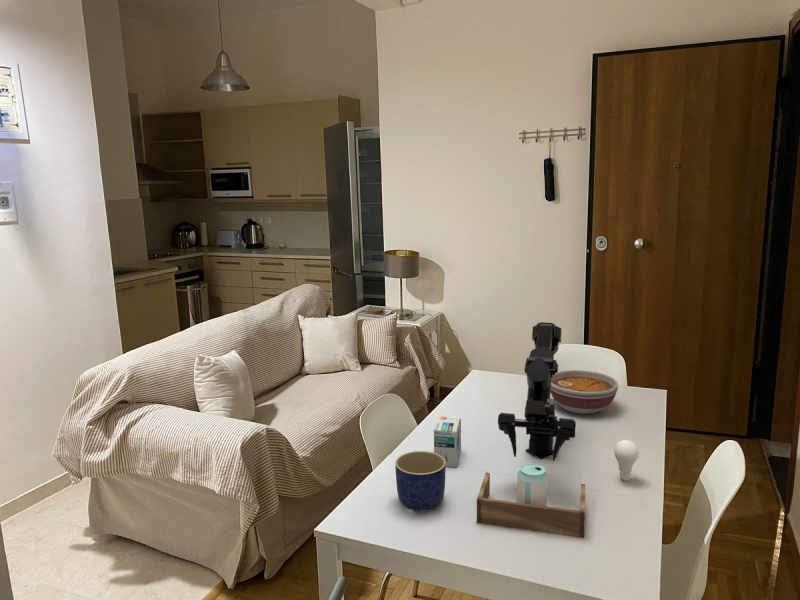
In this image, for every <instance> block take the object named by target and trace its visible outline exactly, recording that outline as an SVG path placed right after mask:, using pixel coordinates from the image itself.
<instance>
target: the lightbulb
mask: <svg viewBox="0 0 800 600" xmlns="http://www.w3.org/2000/svg"><path fill="white" fill-rule="evenodd" d="M613 454H614V457H615V459H616V461H617V464H618V470H619V478H620V479H622V480H623V481H628V480H630V479H631V473H632V469H633V466H634V464H635V463H636V461H637V460H638V458H639V455H640V452H639V447H638V445H637V444H636V443H634V442H633V441H631V440H629V439H623V440H620V441H618V442H616V444H615V445H614V449H613Z"/></svg>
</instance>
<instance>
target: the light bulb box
mask: <svg viewBox="0 0 800 600" xmlns="http://www.w3.org/2000/svg"><path fill="white" fill-rule="evenodd" d="M433 453H436V454H438V455H440V456H442V457H443V458H444V459H445V461H446V468H447V467H450V468H458V465H459V463H460V458H461V455H462V418H461V417H457V416H456V417H455V416H443V415H439V416H438V418H437V420H436V423H435V425H434V428H433Z"/></svg>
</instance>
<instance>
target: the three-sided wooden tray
mask: <svg viewBox="0 0 800 600" xmlns="http://www.w3.org/2000/svg"><path fill="white" fill-rule="evenodd" d="M490 486H491V473H490V472H488V471H487V472H485V475H484V477H483V479H482V483H481V486H480V489H479V492H478V495H477V498H476V524H481V525H489V526H497V527H503V528H510V529H515V530H523V531H531V532H539V533H546V534H551V535H552V534H553V535H560V536H567V537H573V538H580V539H585V523H586V522H585V521H586V484H585V483H580V494H579V495H580V496H579V501H580V502H579V510H577V509H571V508H564V507H563V508H561V507H554V506H548V505H547V506H540V505H533V504H525V503H517V501H510V500H508V501H507V500H503V499H501V500H500V499H493V498H490V494H491V493H490V492H491V491H490V489H491V487H490Z"/></svg>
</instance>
